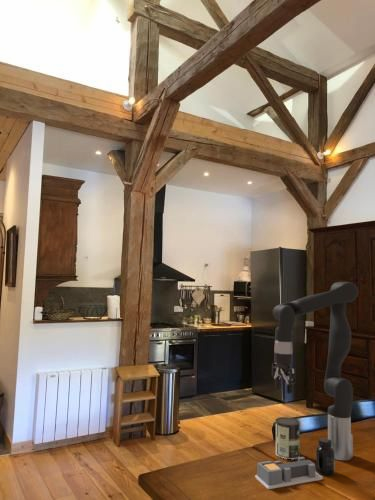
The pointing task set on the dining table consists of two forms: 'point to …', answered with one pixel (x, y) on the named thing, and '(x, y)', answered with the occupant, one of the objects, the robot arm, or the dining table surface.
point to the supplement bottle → (325, 457)
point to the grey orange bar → (292, 468)
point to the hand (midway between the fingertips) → (283, 390)
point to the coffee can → (287, 438)
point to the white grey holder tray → (275, 476)
